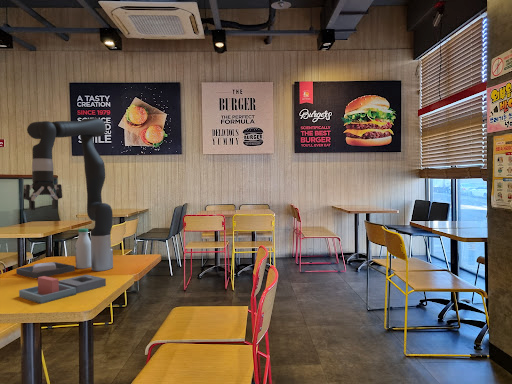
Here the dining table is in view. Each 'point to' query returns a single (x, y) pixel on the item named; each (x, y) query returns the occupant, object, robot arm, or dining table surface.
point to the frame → (28, 271)
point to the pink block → (47, 285)
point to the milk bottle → (83, 250)
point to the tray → (41, 298)
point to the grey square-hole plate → (84, 282)
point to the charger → (44, 267)
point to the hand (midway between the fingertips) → (43, 209)
